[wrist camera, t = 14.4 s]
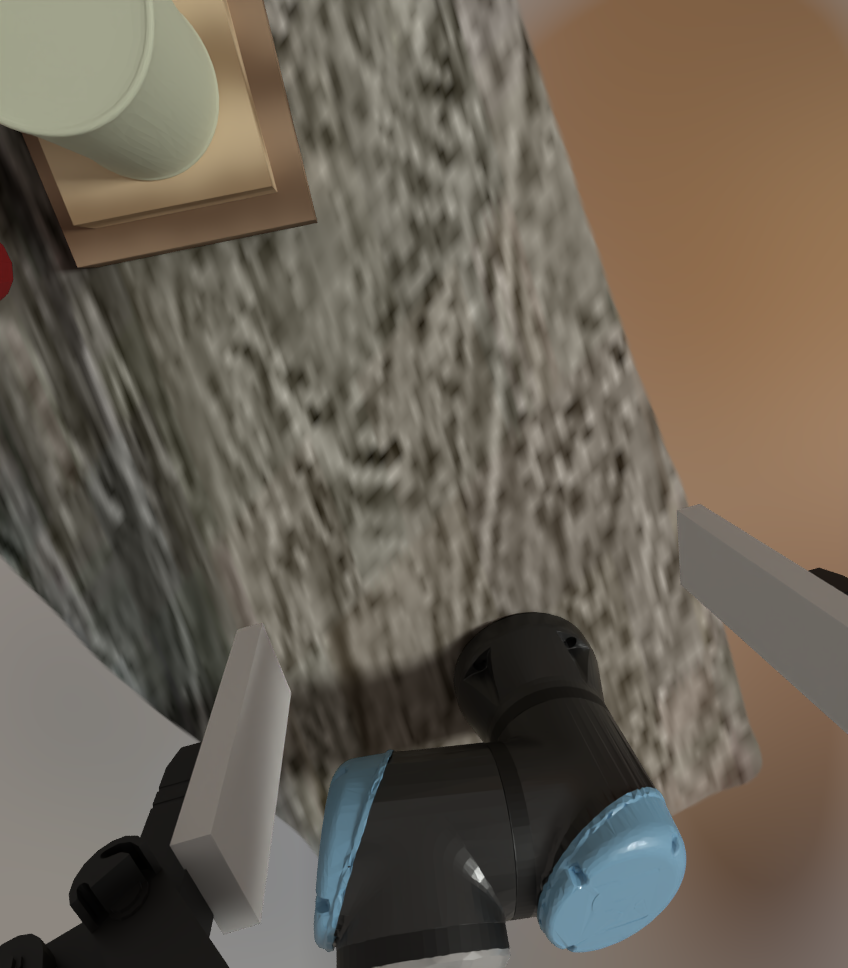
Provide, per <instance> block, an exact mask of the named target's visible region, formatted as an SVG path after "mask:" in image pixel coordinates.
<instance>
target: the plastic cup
mask: <svg viewBox="0 0 848 968" xmlns="http://www.w3.org/2000/svg"><path fill="white" fill-rule="evenodd" d="M12 282H13V270H12V262H11V260H10V258H9V256H8V254H7V252H6V250H5V248H4V246H3V245H2V244H1V243H0V300H2V299H3V298H4V297H5V296H6V295H7V294H8V292H9V290H10V287H11V284H12Z"/></svg>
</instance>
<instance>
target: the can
mask: <svg viewBox="0 0 848 968" xmlns="http://www.w3.org/2000/svg"><path fill="white" fill-rule="evenodd" d="M218 115H219V91H218V84H217V78H216V74H215V70H214V67H213V64H212V61H211V59H210V56H209V54H208V51H207V49H206V48H205V46H204V44H203V42H202V40H201V38H200V37H199V35H198V34H197V32H196V31H195V29H194V28H193V26H192V25H191V24H190V23H189V21H188V20H187V19H186V18H185V17H184V16H183V15H182V14H181V13H180V12H179V10H178V9H177V7H176V6H175V5H174V3H173V1H172V0H0V124H1V125H3V126H6V127H8V128H10V129H13V130H16V131H19V132H23V133H26V134H30V135H34V136H36V137H39V138H41V139H44V140H47V141H49V142H52V143H54V144H57V145H59V146H61V147H64V148H66V149H68V150H71V151H73V152H76V153H78V154H80V155H83V156H85V157H87V158H90V159H92V160H93V161H95V162H96V163H97V164H99V165H101V166H102V167H104V168H106V169H108V170H110V171H112V172H114V173H116V174H119V175H121V176H124V177H128V178H132V179H137V180H147V181H152V180H162V179H167V178H171V177H174V176H176V175H178V174H180V173H183V172H184V171H186V170H187V169H189V168H190V167H191V166H193V165H194V164H195V163H196V162H197V161H198V160H199V159H200V158H201V157H202V155H203V154H204V153H205V151H206V150H207V148H208V146H209V145H210V143H211V141H212V138H213V136H214V133H215V130H216V126H217V121H218Z"/></svg>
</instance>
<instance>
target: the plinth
mask: <svg viewBox="0 0 848 968" xmlns="http://www.w3.org/2000/svg"><path fill="white" fill-rule="evenodd" d="M172 1H173V3H174V5H175V6H176V7H177V9H178V10H179V12H180V13H181V14H182V15H183V16H184V17H185V18H186V19H187V20H188V21H189V23H190V24H191V25H192V26H193V28H194V29H195V31H196V32H197V34H198V35H199V37H200V38H201V40H202V42H203V44H204V46H205V48H206V49H207V51H208V54H209V56H210V59H211V61H212V64H213V67H214V70H215V74H216V78H217V84H218V91H219V115H218V121H217V126H216V130H215V133H214V136H213V138H212V141H211V143H210V145H209V146H208V148H207V150H206V151H205V153H204V154H203V155H202V157H201V158H200V159H199V160H198V161H197V162H196V163H195V164H194V165H193V166H191V167H190V168H189V169H187V170H186V171H184V172H183V173H180V174H178V175H176V176H174V177H171V178H167V179H162V180H152V181H147V180H137V179H132V178H128V177H124V176H121V175H119V174H116V173H114V172H112V171H110V170H108V169H106V168H104V167H102V166H101V165H99V164H97V163H96V162H95V161H93V160H92V159H90V158H87V157H85V156H83V155H80V154H78V153H76V152H73V151H71V150H68V149H66V148H64V147H61V146H59V145H57V144H54V143H52V142H49V141H47V140H44V139H41V138H39V137H36V136H34V135H30V134H26V133H23V132H21V133H22V135H23V138H24V140H25V142H26V145H27V147H28V150H29V152H30V154H31V157H32V159H33V162H34V164H35V166H36V169H37V171H38V174H39V176H40V178H41V181H42V183H43V186H44V188H45V190H46V193H47V195H48V198H49V200H50V202H51V205H52V207H53V210H54V212H55V214H56V217H57V219H58V222H59V224H60V226H61V229H62V231H63V233H64V236H65V238H66V241H67V243H68V245H69V248H70V250H71V253H72V255H73V257H74V260H75V262H76V265H77V267H78V268H82V267H101V266H106V265H111V264H116V263H121V262H126V261H131V260H136V259H141V258H146V257H151V256H155V255H160V254H165V253H170V252H175V251H180V250H185V249H190V248H195V247H200V246H205V245H210V244H214V243H219V242H224V241H229V240H234V239H239V238H244V237H249V236H254V235H259V234H264V233H269V232H273V231H278V230H283V229H288V228H293V227H298V226H303V225H308V224H313V223H317V219H316V214H315V210H314V206H313V202H312V198H311V194H310V190H309V186H308V182H307V177H306V173H305V169H304V165H303V161H302V157H301V153H300V149H299V145H298V140H297V136H296V132H295V128H294V124H293V120H292V116H291V112H290V108H289V103H288V99H287V95H286V91H285V87H284V83H283V79H282V75H281V71H280V66H279V62H278V58H277V54H276V50H275V46H274V42H273V38H272V33H271V29H270V25H269V21H268V17H267V13H266V9H265V5H264V1H263V0H172Z"/></svg>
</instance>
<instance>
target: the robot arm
mask: <svg viewBox="0 0 848 968" xmlns="http://www.w3.org/2000/svg"><path fill="white" fill-rule="evenodd" d="M677 522H678V542H679V561H680V581H681V585H682V586H683V587H684V588H685V589H686V590H688V591H689V592H690V593H691V594H692V595H693V596H694V597H695V598H696V599H698V600H699V601H700V602H701V603H702V604H703V605H704V606H705V607H706V608H708V609H709V610H710V611H711V612H712V613H713V614H714V615H715V616H717V617H718V618H719V619H720V620H721V621H722V622H723V623H724V624H725V625H727V626H728V627H729V628H730V629H731V630H732V631H733V632H734V633H735V634H737V635H738V636H739V637H740V638H741V639H742V640H743V641H744V642H746V643H747V644H748V645H749V646H750V647H751V648H752V649H753V650H754V651H756V652H757V653H758V654H759V655H760V656H761V657H762V658H763V659H764V660H766V661H767V662H768V663H769V664H770V665H771V666H772V667H773V668H774V669H776V670H777V671H778V672H779V673H780V674H781V675H782V676H783V677H785V678H786V679H787V680H788V681H789V682H790V683H791V684H792V685H793V686H795V687H796V688H797V689H798V690H799V691H800V692H801V693H802V694H803V695H805V696H806V697H807V698H808V699H809V700H810V701H811V702H812V703H813V704H815V705H816V706H817V707H818V708H819V709H820V710H821V711H822V712H824V713H825V714H826V715H827V716H828V717H829V718H830V719H831V720H833V722H835V723H836V724H837V725H838V726H839V727H840V728H841V729H842V730H844V731H845V732H846V733H847V734H848V578H847V577H845V576H843V575H840V574H837V573H834V572H830V571H827V570H824V569H821V568H817V569H813V570H809V571H807V570H806V569H804V568H802V567H800V566H799V565H797V564H796V563H794V562H793V561H791V560H789V559H788V558H786V557H785V556H783V555H781V554H780V553H778V552H777V551H775V550H773V549H772V548H770V547H768V546H767V545H765V544H763V543H762V542H760V541H759V540H757V539H755V538H754V537H752V536H751V535H749V534H747V533H746V532H744V531H743V530H741V529H740V528H738V527H736V526H735V525H733V524H731V523H730V522H728V521H727V520H725V519H723V518H722V517H720V516H719V515H717V514H715V513H714V512H712V511H711V510H709V509H707V508H706V507H704V506H702V505H700V504H698V505H695V506H691V507H687V508H684V509H680V510H677ZM454 689H455V693H456V696H457V700H458V704H459V707H460V710H461V712H462V714H463V716H464V717H465V719H466V720H467V722H468V723H469V724H470V725H471V727H472V728H473V729H474V731H475V732H476V733H477V735H478V736H479V737H480V739H481V740H482V741H483V743H475V744H465V745H456V746H447V747H437V748H428V749H419V750H409V751H398V752H394V750H387V751H386V753H382V754H376V755H370V756H364V757H358V758H353V759H350V760H347V761H346V762H344V763H343V764H342V765H341V766H340V767H339V768H338V769H337V771H336V772H335V774H334V776H333V778H332V781H331V784H330V788H329V792H328V797H327V802H326V807H325V814H324V820H323V827H322V834H321V842H320V850H319V859H318V869H317V882H316V893H317V896H316V908H315V915H314V937H315V942H316V944H317V945H318V946H319V947H320V948H323V949H325V950H326V951H327V952H330V951H333V950H334V947H336V950H337V968H505V966H506V964H507V962H508V960H509V958H510V955H511V954H510V948H509V942H508V936H507V931H506V925H505V921H509V920H516V919H523V918H530V917H537V919H538V922H539V925H540V929H541V930H542V931H543V932H544V933H545V934H546V936H547V938H548V939H549V940H550V942H551V943H553V944H554V945H555V946H556V947H558V948H560V949H565V948H567V949H568V950H570V951H572V952H588V951H594V950H598V949H602V948H605V947H607V946H610V945H613V944H615V943H618V942H620V941H622V940H624V939H626V938H628V937H629V936H631V935H633V934H634V933H636V932H638V931H639V930H641V929H642V928H643V927H645V926H646V925H647V924H649V923H650V922H651V921H652V920H653V919H654V918H655V917H656V916H658V915H659V914H660V913H661V912H662V911H663V910H664V909H665V908H666V906H667V905H668V904H669V903H670V901H671V900H672V899H673V897H674V896H675V894H676V892H677V890H678V889H679V886H680V884H681V882H682V879H683V876H684V873H685V867H686V851H685V846H684V842H683V840H682V837H681V835H680V833H679V831H678V829H677V827H676V825H675V823H674V821H673V819H672V817H671V815H670V813H669V811H668V809H667V807H666V804H665V800H664V798H663V796H662V794H661V793H660V792H659V791H658V790H656V788H655V786H654V785H653V783H652V781H651V780H650V778H649V776H648V775H647V773H646V771H645V770H644V768H643V767H642V765H641V763H640V762H639V760H638V758H637V757H636V755H635V753H634V752H633V750H632V748H631V747H630V745H629V743H628V742H627V740H626V738H625V737H624V735H623V733H622V732H621V730H620V729H619V727H618V725H617V724H616V722H615V720H614V719H613V717H612V715H611V714H610V712H609V710H608V709H607V707H606V705H605V704H604V698H603V692H602V686H601V680H600V674H599V669H598V663H597V660H596V657H595V654H594V652H593V650H592V648H591V646H590V645H589V643H588V642H587V640H586V639H585V637H584V636H583V634H582V633H581V632H580V630H579V629H578V628H577V627H576V626H574V625H573V624H572V623H570V622H569V621H567V620H565V619H563V618H560V617H558V616H555V615H551V614H545V613H525V614H519V615H514V616H510V617H507V618H504V619H502V620H499V621H497V622H495V623H493V624H491V625H490V626H488V627H486V628H485V629H483V630H482V631H481V632H479V633H478V634H477V635H476V636H475V637H474V638H473V639H472V640H471V641H470V642H469V643H468V644H467V646H466V647H465V648H464V650H463V651H462V653H461V655H460V657H459V659H458V661H457V664H456V667H455V671H454ZM290 698H291V691H290V688H289V686H288V683H287V681H286V679H285V676H284V674H283V671H282V669H281V666H280V664H279V661H278V659H277V657H276V654H275V652H274V649H273V647H272V644H271V642H270V639H269V637H268V635H267V632H266V630H265V627H264V625H263V623H259V624H256V625H252V626H248V627H245V628H241V629H237V633H236V636H235V639H234V642H233V645H232V648H231V652H230V655H229V658H228V661H227V664H226V668H225V671H224V674H223V677H222V680H221V684H220V687H219V690H218V693H217V696H216V699H215V703H214V706H213V709H212V712H211V715H210V719H209V722H208V725H207V728H206V731H205V735H204V738H203V741H202V742H200V743H196V744H193V745H189V746H185V747H182V748H181V749H180V750H179V751H178V753H177V754H176V755H175V757H174V758H173V759H172V761H171V762H170V763H169V765H168V766H167V767H166V770H165V773H164V775H163V778H162V780H161V783H160V786H159V792H157V794H156V797H155V799H154V802H153V808H152V809H151V810H150V813H149V816H148V818H147V821H146V824H145V826H144V829H143V832H142V834H141V837H139V836H124V837H122V838H119V839H116V840H114V841H112V842H110V843H109V844H107V845H106V846H104V847H103V848H101V849H100V850H98V851H97V852H96V853H95V854H94V855H93V856H92V857H91V858H90V859H89V860H88V861H87V862H86V863H85V864H84V865H83V867H82V868H81V870H80V871H79V873H78V874H77V876H76V877H75V879H74V881H73V884H72V886H71V889H70V892H69V900H70V906H71V907H72V909H73V910H74V911H75V913H76V914H77V915H78V917H79V918H80V919H81V921H82V923H81V924H79V925H78V926H76V927H74V928H73V929H71V930H70V931H67V932H66V933H64V934H63V935H61V936H59V937H57V938H56V939H54V940H52V941H51V942H49V943H47V944H46V945H45V943H44V942H43V941H42V940H41V939H40V938H39V937H37V936H35V935H33V934H27V935H20V936H17V937H15V938H13V939H12V940H9V941H7V942H6V943H4V944H2V945H1V946H0V968H229V967H228V965H227V964H226V962H225V960H224V959H223V958H222V956H221V955H220V953H219V952H218V950H217V949H216V947H215V946H214V945H213V943H212V941H211V940H210V938H209V936H210V931H211V926H212V922H213V918H214V920H215V921H216V923H217V925H218V927H219V928H220V930H221V932H222V933H223V934H227V933H231V932H234V931H237V930H241V929H244V928H247V927H251V926H254V925H257V924H260V923H261V915H262V908H263V901H264V893H265V885H266V877H267V871H268V863H269V856H270V848H271V840H272V832H273V826H274V818H275V811H276V803H277V796H278V788H279V781H280V773H281V766H282V758H283V751H284V743H285V736H286V728H287V721H288V713H289V706H290Z"/></svg>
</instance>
